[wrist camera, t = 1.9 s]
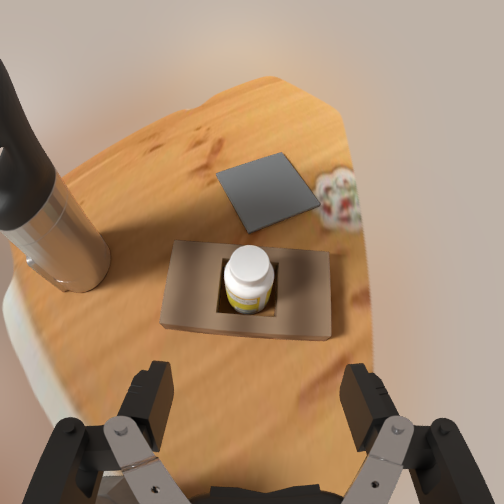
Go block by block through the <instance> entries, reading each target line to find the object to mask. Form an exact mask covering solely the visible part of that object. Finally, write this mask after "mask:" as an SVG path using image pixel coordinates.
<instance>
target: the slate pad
mask: <svg viewBox="0 0 504 504" xmlns="http://www.w3.org/2000/svg"><path fill="white" fill-rule="evenodd" d="M216 176H217V178H218V180H219V182H220V183H221V185H222V187H223V189H224V191H225V192H226V194H227V196H228V198H229V199H230V201H231V203H232V205H233V207H234V208H235V210H236V212H237V214H238V216H239V217H240V219H241V221H242V223H243V225H244V226H245V228H246V230H247V232H248V234H250V233H253V232H255V231H257V230H260V229H262V228H265V227H267V226H270V225H272V224H275V223H277V222H280V221H282V220H285V219H288V218H290V217H293V216H295V215H298V214H300V213H303V212H305V211H308V210H310V209H313V208H315V207H318V206H320V203H319V202H318V200H317V199H316V197H315V196H314V195H313V193H312V192H311V191H310V189H309V188H308V186H307V185H306V184H305V182H304V181H303V180H302V178H301V177H300V176H299V174H298V173H297V172H296V170H295V169H294V168H293V166H292V165H291V164H290V162H289V161H288V160H287V158H286V157H285V156H284V155H283V153H282V152H281V153H277V154H274V155H271V156H268V157H264V158H261V159H258V160H255V161H252V162H248V163H245V164H242V165H239V166H236V167H233V168H230V169H227V170H224V171H222V172H219V173H216Z"/></svg>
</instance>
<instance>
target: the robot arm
mask: <svg viewBox="0 0 504 504" xmlns="http://www.w3.org/2000/svg"><path fill="white" fill-rule="evenodd" d="M1 147H4V148H3V151H2V153H1V156H0V231H1V232H2V233H3V234H4V235H5V236H6V237H7V238H8V239H9V240H10V241H11V242H12V243H13V244H15V245H16V246H17V247H18V248H19V249H20V250H21V251H22V252H23V253H25V254H26V257H27V264H28V265H29V266H30V267H31V268H32V269H33V270H35V271H36V272H37V273H38V274H40V275H41V276H42V277H44V278H45V279H46V280H47V281H49V282H50V283H51V284H53V285H54V286H55V287H57V288H58V289H59V290H61V291H62V292H64V291H67V290H70V291H73V292H80V293H81V292H86V291H89V290H91V289H93V288H94V287H96V286H97V285H98V284H99V283H100V282H101V281H102V280H103V278H104V277H105V276H106V274H107V271H108V269H109V266H110V259H111V256H110V250H109V247H108V245H107V244H106V243H105V241H104V239H103V238H102V236H101V235H100V234H99V233H98V231H97V230H96V228H95V227H94V226H93V224H92V223H91V221H90V220H89V219H88V217H87V216H86V214H85V213H84V211H83V210H82V209H81V207H80V206H79V204H78V203H77V201H76V200H75V198H74V197H73V195H72V194H71V192H70V191H69V189H68V188H67V186H66V184H65V183H64V181H63V180H62V178H61V177H60V175H59V173H58V172H57V170H56V169H55V167H54V166H53V164H52V162H51V161H50V159H49V158H48V156H47V154H46V153H45V151H44V150H43V148H42V147H41V145H40V143H39V141H38V139H37V138H36V136H35V134H34V132H33V130H32V129H31V126H30V124H29V122H28V120H27V118H26V116H25V113H24V111H23V109H22V106H21V104H20V101H19V99H18V97H17V94H16V91H15V89H14V86H13V84H12V82H11V79H10V77H9V74H8V72H7V70H6V68H5V66H4V64H3V62H2V61H1V59H0V148H1ZM173 396H174V385H173V379H172V373H171V366H170V363H169V362H164V361H152V363H151V366H150V368H149V370H148V371H146V370H141V371H140V372H139V373H138V374H137V375H135V376H134V378H133V380H132V383H131V386H130V387H129V389H128V393H127V394H126V396H125V399H124V401H123V403H122V405H121V408H120V410H119V412H118V415H117V416H116V417H113V418H111V419H109V420H108V421H107V422H106V423H105V425H100V426H84V424H83V422H82V421H81V420H79V419H77V418H73V417H68V418H64V419H62V420H60V421H59V422H58V423H57V424H56V426H55V428H54V430H53V432H52V434H51V436H50V438H49V441H48V443H47V445H46V447H45V449H44V452H43V454H42V456H41V458H40V460H39V463H38V465H37V467H36V470H35V472H34V474H33V477H32V479H31V482H30V484H29V487H28V489H27V492H26V494H25V497H24V500H23V502H22V504H95V502H96V498H97V495H98V491H99V487H100V483H101V480H102V476H103V472H104V471H116V470H121V471H122V473H123V475H124V477H125V478H126V480H127V482H128V484H129V486H130V488H131V490H132V491H133V493H134V495H135V497H136V498H137V500H138V502H139V503H140V504H388V502H389V500H390V497H391V495H392V493H393V491H394V489H395V486H396V484H397V482H398V479H399V477H400V474H401V472H402V469H409V472H410V475H411V478H412V481H413V484H414V487H415V490H416V493H417V496H418V500H419V503H420V504H495V503H494V500H493V498H492V496H491V493H490V491H489V489H488V487H487V485H486V483H485V480H484V478H483V476H482V474H481V472H480V470H479V468H478V466H477V464H476V462H475V460H474V458H473V456H472V454H471V452H470V450H469V448H468V446H467V444H466V442H465V440H464V438H463V436H462V434H461V433H460V431H459V429H458V427H457V425H456V424H455V423H454V422H453V421H452V420H449V419H446V418H439V419H436V420H435V421H433V423H432V425H431V426H415V425H413V424H412V422H411V421H410V420H409V419H407V418H405V417H403V416H400V415H399V413H398V412H397V409H396V408H395V406H394V404H393V402H392V400H391V398H390V396H389V395H388V392H387V390H386V388H385V386H384V384H383V382H382V381H381V379H380V378H379V377H378V376H376V375H375V374H374V373H368V371H367V369H366V367H365V365H364V364H363V363H359V364H348V365H347V366H346V368H345V372H344V375H343V379H342V383H341V386H340V401H341V404H342V407H343V410H344V413H345V416H346V419H347V422H348V425H349V428H350V431H351V434H352V437H353V440H354V443H355V446H356V449H357V452H361V451H366V453H367V456H366V458H365V460H364V462H363V464H362V466H361V467H360V469H359V471H358V473H357V475H356V476H355V478H354V480H353V482H352V483H351V485H350V487H349V488H348V490H347V492H346V493H345V495H344V496H343V497H342V496H340V495H337V494H335V493H331V492H327V491H321V490H320V487H319V484H315V485H305V486H293V487H289V488H286V489H282V490H278V491H274V492H270V493H261V492H256V491H251V490H246V489H242V488H234V487H214V486H211V490H210V493H204V494H200V495H197V496H194V497H191V498H189V499H187V498H186V496H185V495H184V494H183V492H182V491H181V490H180V488H179V487H178V486H177V484H176V483H175V481H174V480H173V479H172V477H171V476H170V474H169V473H168V471H167V470H166V468H165V467H164V465H163V464H162V462H161V461H160V459H159V458H158V457H156V456H155V455H154V453H153V452H152V451H154V452H159V451H160V447H161V443H162V439H163V435H164V431H165V427H166V424H167V420H168V416H169V412H170V408H171V405H172V401H173Z"/></svg>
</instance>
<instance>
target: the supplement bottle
mask: <svg viewBox="0 0 504 504" xmlns="http://www.w3.org/2000/svg"><path fill="white" fill-rule="evenodd" d="M224 280H225V286H226V293H227V298H228V301H229V303H230V305H231V306H232V307H233V308H234V309H235V310H236V311H238V312H240V313H242V314H255V313H257V312H259V311H261V310H262V309H263V308H264V307H265V306H266V305H267V303H268V300H269V297H270V293H271V289H272V285H273V281H274V270H273V267H272V265H271V263H270V261H269V257H268V255H267V254H266V252H265V251H264V250H262V249H261V248H259V247H257V246H253V245H246V246H242V247H240V248H238V249H237V250H235V251H234V252H233V254H232V256H231V258H230V260H229V262H228V263H227V265H226V267H225V271H224Z"/></svg>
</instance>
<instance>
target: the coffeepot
mask: <svg viewBox="0 0 504 504" xmlns="http://www.w3.org/2000/svg"><path fill="white" fill-rule="evenodd" d="M95 504H140V503H139V502H138V500H137V498H136V497H135V495H134V493H133V491H132V490H131V488H130V486H129V484H128V482H127V480H126V478H125V477H124V476H108V477H102V480H101V483H100V487H99V491H98V495H97V498H96V502H95Z"/></svg>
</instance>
